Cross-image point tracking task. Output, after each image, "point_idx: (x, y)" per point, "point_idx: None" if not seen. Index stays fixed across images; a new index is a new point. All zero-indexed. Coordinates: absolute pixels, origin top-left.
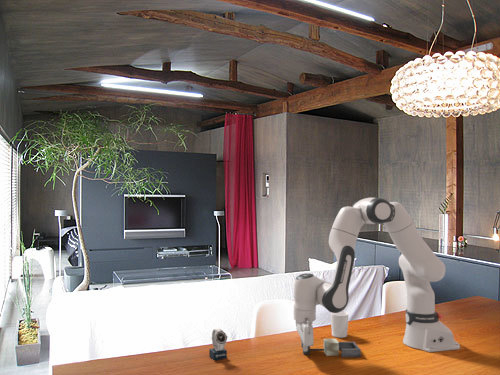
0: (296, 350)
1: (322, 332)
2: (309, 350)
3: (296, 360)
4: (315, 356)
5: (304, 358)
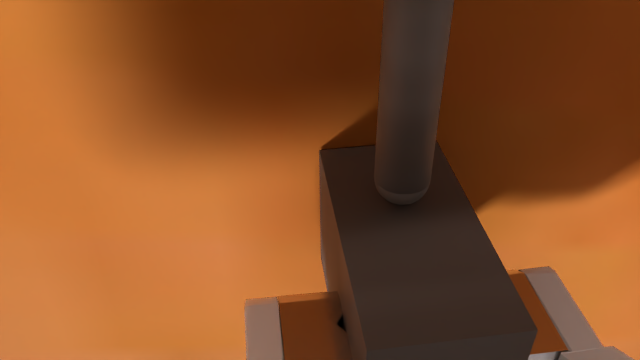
0: (202, 342)
1: None
2: (466, 210)
3: (628, 333)
4: (571, 29)
5: (597, 239)
